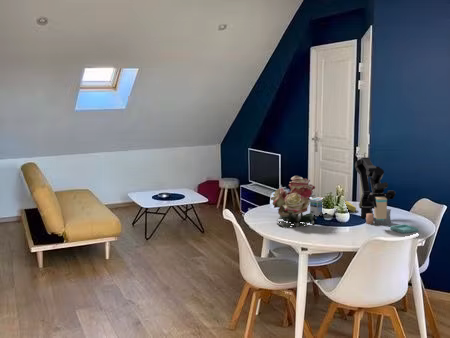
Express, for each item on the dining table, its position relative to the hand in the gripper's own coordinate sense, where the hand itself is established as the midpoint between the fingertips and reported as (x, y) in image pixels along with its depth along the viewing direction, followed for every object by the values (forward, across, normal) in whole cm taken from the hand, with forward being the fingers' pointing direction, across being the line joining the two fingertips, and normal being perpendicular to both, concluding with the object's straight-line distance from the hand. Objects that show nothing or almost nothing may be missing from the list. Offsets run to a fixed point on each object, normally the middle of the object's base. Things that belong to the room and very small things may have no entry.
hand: (381, 207), depth 293 cm
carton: (+4, 0, +6) cm, 7 cm away
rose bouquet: (-4, -48, +24) cm, 53 cm away
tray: (+11, +13, +8) cm, 19 cm away
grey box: (-1, +6, +20) cm, 21 cm away
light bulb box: (-20, -29, +40) cm, 53 cm away
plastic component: (-29, -8, +49) cm, 57 cm away
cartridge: (-1, -2, +20) cm, 20 cm away
